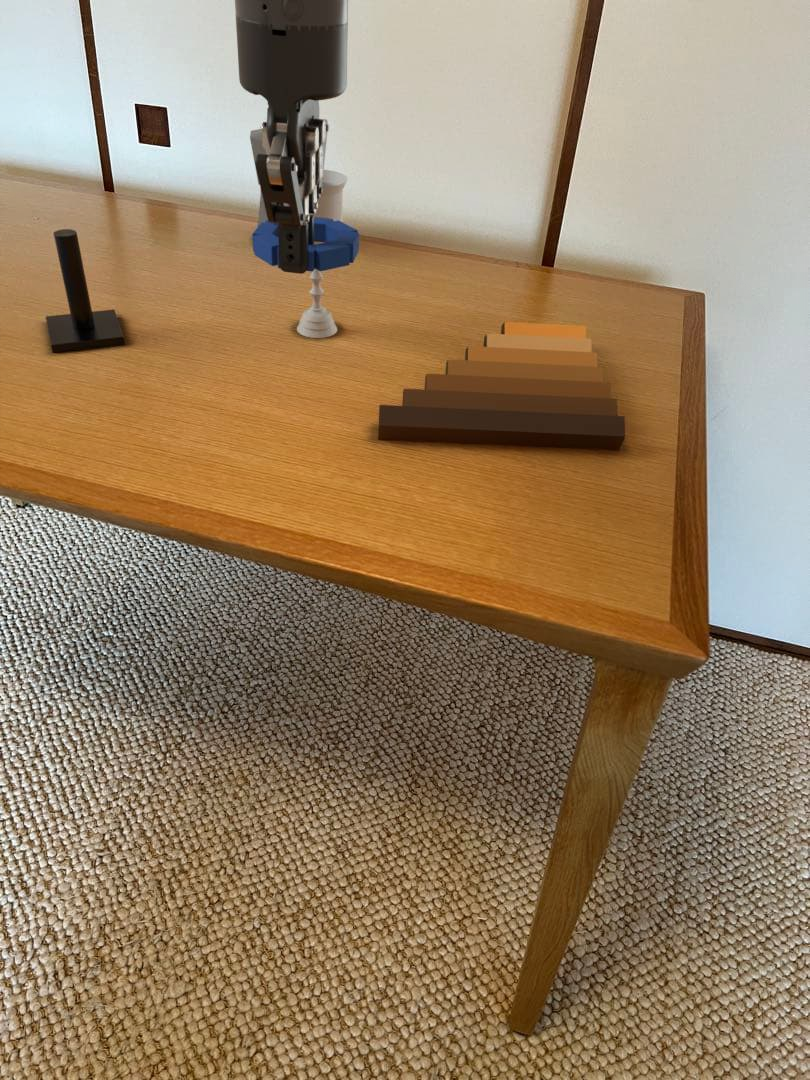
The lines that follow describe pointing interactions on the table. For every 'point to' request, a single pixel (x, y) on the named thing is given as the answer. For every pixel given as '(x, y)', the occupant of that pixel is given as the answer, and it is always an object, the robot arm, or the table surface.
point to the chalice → (316, 317)
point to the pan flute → (514, 395)
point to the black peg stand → (79, 305)
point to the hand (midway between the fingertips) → (297, 265)
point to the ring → (324, 256)
